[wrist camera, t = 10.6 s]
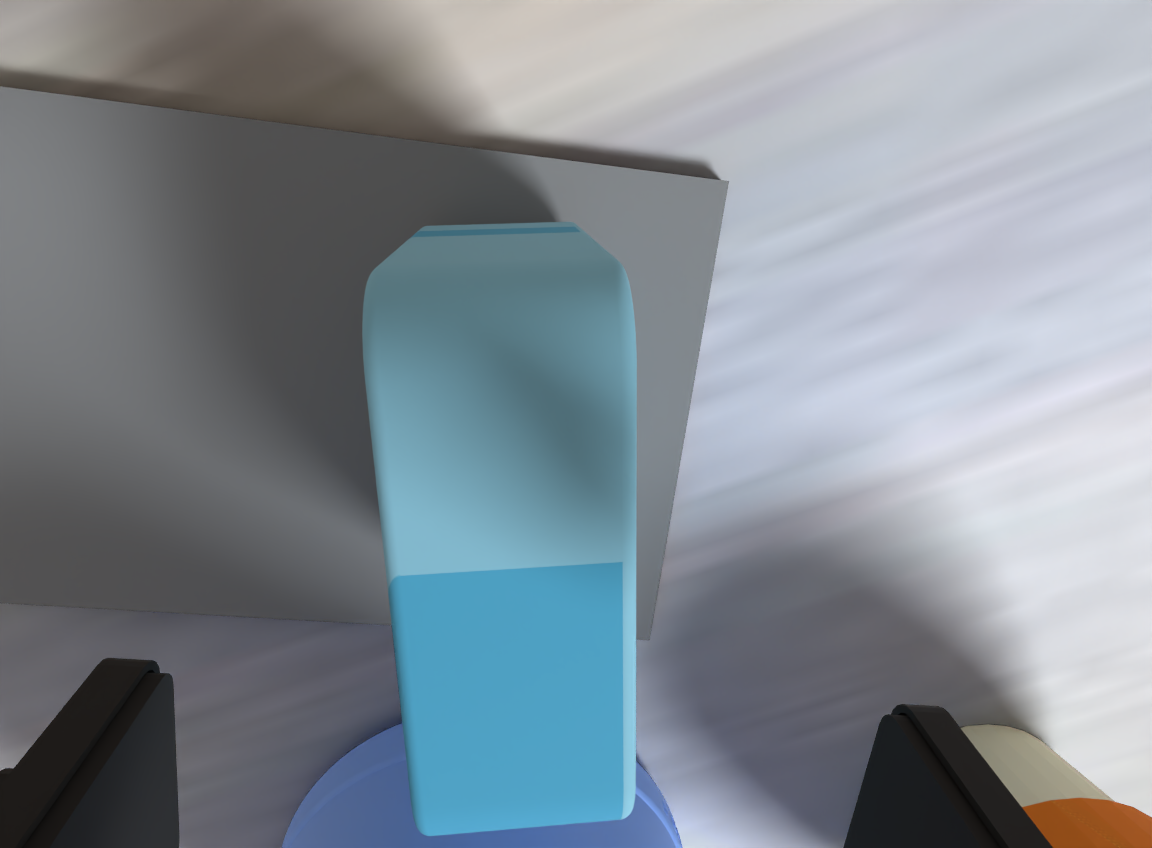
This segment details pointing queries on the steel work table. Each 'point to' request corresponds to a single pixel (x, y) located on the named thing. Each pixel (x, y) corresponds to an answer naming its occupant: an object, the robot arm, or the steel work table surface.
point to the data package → (508, 520)
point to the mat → (265, 346)
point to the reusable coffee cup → (1058, 793)
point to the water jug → (394, 844)
